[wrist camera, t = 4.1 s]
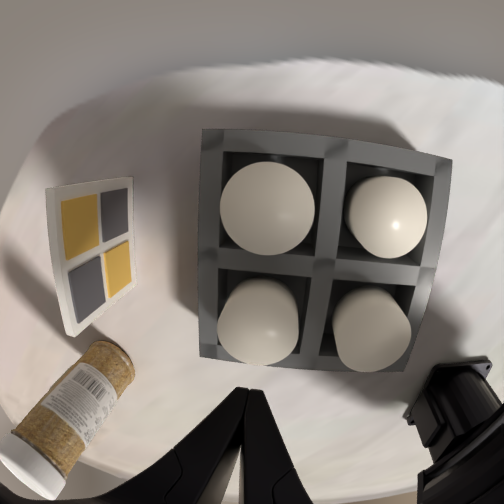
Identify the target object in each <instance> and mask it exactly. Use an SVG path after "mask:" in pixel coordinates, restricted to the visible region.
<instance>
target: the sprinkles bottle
mask: <svg viewBox="0 0 504 504" xmlns="http://www.w3.org/2000/svg"><path fill="white" fill-rule="evenodd" d="M134 377H135V370H134V367H133V364H132V363H131V360H130V359H129V357H128V356H127V355H126V354H125V353H124V352H123V351H122V350H121V349H120V348H118V347H117V346H115V345H113V344H112V343H109V342H106V341H96V342H94V343H93V344H92V345H90V347H89V349H88V351H87V352H86V353H85V354H84V355H83V356H82V357H81V358H80V359H79V360H78V361H77V362H76V363H75V364H74V365H72V366H71V367H70V368H69V369H68V370H67V371H66V372H65V373H64V374H63V375H62V376H61V377H60V378H59V379H58V380H57V381H56V382H55V383H54V384H53V385H52V386H51V388H50V389H49V391H48V392H47V393H46V394H45V395H44V396H43V397H42V398H41V400H40V401H39V402H38V403H37V404H36V405H35V407H34V408H33V409H32V410H31V411H30V412H29V413H28V415H27V416H26V417H25V418H24V419H23V420H22V422H21V423H20V424H19V425H18V426H17V427H16V429H13V430H11V433H7V434H6V435H5V436H4V437H3V438H2V440H1V441H0V460H1V462H2V463H3V464H4V465H5V466H6V467H7V468H8V469H9V470H10V471H11V472H12V473H13V474H14V475H15V476H16V477H17V478H18V479H19V480H20V481H22V482H23V483H24V484H25V485H27V486H28V487H29V488H31V489H32V490H33V491H35V492H36V493H38V494H39V495H41V496H43V497H44V498H46V499H49V500H55V499H56V497H57V496H58V495H59V493H60V492H61V490H62V489H63V487H64V485H65V480H66V479H67V477H68V476H67V475H68V473H69V472H70V470H71V469H72V467H73V466H74V464H75V463H76V461H77V460H78V458H79V456H80V455H81V454H82V452H83V451H84V450H85V449H86V448H87V446H88V445H89V443H90V442H91V440H92V439H93V437H94V436H95V434H96V433H97V431H98V430H99V428H100V427H101V425H102V424H103V422H104V421H105V419H106V418H107V416H108V415H109V414H110V412H111V411H112V409H113V408H114V406H115V405H116V403H117V400H118V399H119V397H120V396H121V394H122V393H123V392H124V390H125V389H126V387H127V386H128V385H129V384H130V383H131V382H132V381H133V380H134Z"/></svg>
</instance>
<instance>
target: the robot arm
mask: <svg viewBox="0 0 504 504" xmlns="http://www.w3.org/2000/svg"><path fill="white" fill-rule="evenodd" d="M491 367H492V363H491V361H490V360H483V361H474V362H463V363H451V364H438V365H436V366H434V367H433V369H432V370H431V373H430V375H429V377H428V379H427V381H426V383H425V386H424V388H423V390H422V392H421V394H420V396H419V398H418V400H417V401H416V403H415V405H414V407H413V409H412V411H411V413H410V415H409V417H408V418H407V423H408V425H416V427H417V430H418V433H419V435H420V438H421V441H422V444H423V446H424V447H425V448H429V451H430V454H431V457H432V460H433V463H434V464H433V465H432V466H430V467H429V468H427V469H426V470H423V471H421V472H420V473H418V490H417V492H418V493H417V504H504V403H503V404H502V403H501V401H500V400H499V398H498V397H497V395H496V394H495V392H494V391H493V389H492V388H491V386H490V385H489V383H488V382H487V381H486V377H487V375H488V373H489V371H490V369H491ZM438 370H439V371H438ZM437 371H438V372H437ZM240 448H241V452H240V476H239V504H313V502H312V501H311V499H310V497H309V496H308V494H307V492H306V491H305V489H304V487H303V485H302V483H301V481H300V479H299V476H298V474H297V472H296V469H295V468H294V465H293V463H292V460H291V458H290V456H289V453H288V451H287V449H286V446H285V444H284V441H283V439H282V436H281V434H280V432H279V429H278V427H277V424H276V422H275V419H274V417H273V414H272V412H271V409H270V407H269V404H268V402H267V399H266V397H265V394H264V392H263V391H262V390H258V389H250V391H249V389H248V388H243V387H236V388H235V389H234V390H233V391H232V392H231V393H230V394H229V395H228V396H227V397H226V398H225V399H224V400H223V401H222V402H221V403H220V404H219V405H218V406H217V407H216V408H215V409H214V410H213V411H212V412H211V413H210V414H209V415H208V416H207V417H206V418H204V419H203V420H202V421H201V422H200V423H199V424H198V425H197V426H196V427H195V428H194V429H193V430H192V431H191V432H190V433H189V434H188V435H186V436H185V437H184V438H183V439H182V440H181V441H180V442H179V443H178V444H177V445H175V446H174V449H171V450H170V451H169V452H167V453H166V454H165V455H164V456H163V457H162V458H160V459H159V460H158V461H157V462H155V463H154V464H153V465H151V466H150V467H148V468H147V469H145V470H144V471H142V472H141V473H139V474H138V475H136V476H135V477H133V478H131V479H130V480H128V481H126V482H124V483H123V484H121V485H119V486H118V487H116V488H114V489H112V490H110V491H109V492H107V493H105V494H102V495H99V496H96V497H92V498H85V499H70V500H31V499H26V498H23V497H20V496H18V495H16V494H14V493H13V492H12V491H10V490H9V489H8V488H7V487H6V486H4V485H3V484H2V483H1V482H0V504H221V502H222V499H223V497H224V494H225V491H226V489H227V486H228V483H229V480H230V477H231V475H232V472H233V469H234V466H235V463H236V461H237V458H238V455H239V451H240Z"/></svg>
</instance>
